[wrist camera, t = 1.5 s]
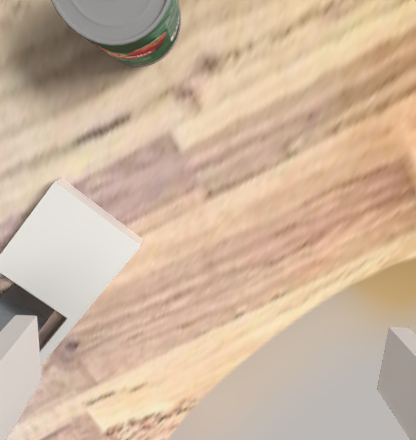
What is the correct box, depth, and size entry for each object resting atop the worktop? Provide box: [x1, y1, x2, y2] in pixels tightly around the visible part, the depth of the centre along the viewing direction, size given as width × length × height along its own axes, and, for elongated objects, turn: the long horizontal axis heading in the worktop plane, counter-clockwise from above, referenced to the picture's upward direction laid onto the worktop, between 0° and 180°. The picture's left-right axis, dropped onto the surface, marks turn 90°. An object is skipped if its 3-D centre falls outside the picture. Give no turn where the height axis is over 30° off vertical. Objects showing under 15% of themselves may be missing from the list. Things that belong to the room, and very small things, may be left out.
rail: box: [0, 178, 143, 365], centre depth 40 cm, size 10×30×2 cm, turn 140°
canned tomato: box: [51, 0, 181, 66], centre depth 28 cm, size 8×8×11 cm
